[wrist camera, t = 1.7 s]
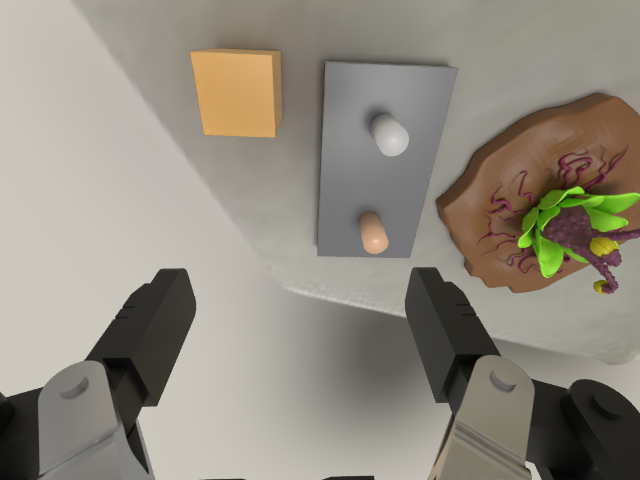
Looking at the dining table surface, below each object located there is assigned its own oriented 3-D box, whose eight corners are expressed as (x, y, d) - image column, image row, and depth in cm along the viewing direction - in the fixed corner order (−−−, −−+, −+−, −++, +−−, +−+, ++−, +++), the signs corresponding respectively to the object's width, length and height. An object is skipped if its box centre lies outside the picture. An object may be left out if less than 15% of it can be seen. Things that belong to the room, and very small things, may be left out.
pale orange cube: (216, 48, 24) (190, 51, 19) (280, 51, 24) (271, 55, 19) (224, 116, 26) (204, 134, 22) (282, 118, 27) (275, 137, 22)
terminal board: (325, 60, 24) (327, 67, 19) (448, 65, 25) (482, 73, 20) (317, 245, 34) (317, 281, 29) (405, 247, 35) (420, 283, 30)
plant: (605, 43, 24) (785, 50, 15) (671, 195, 32) (818, 262, 23) (404, 207, 32) (441, 278, 23) (496, 297, 40) (552, 377, 31)
